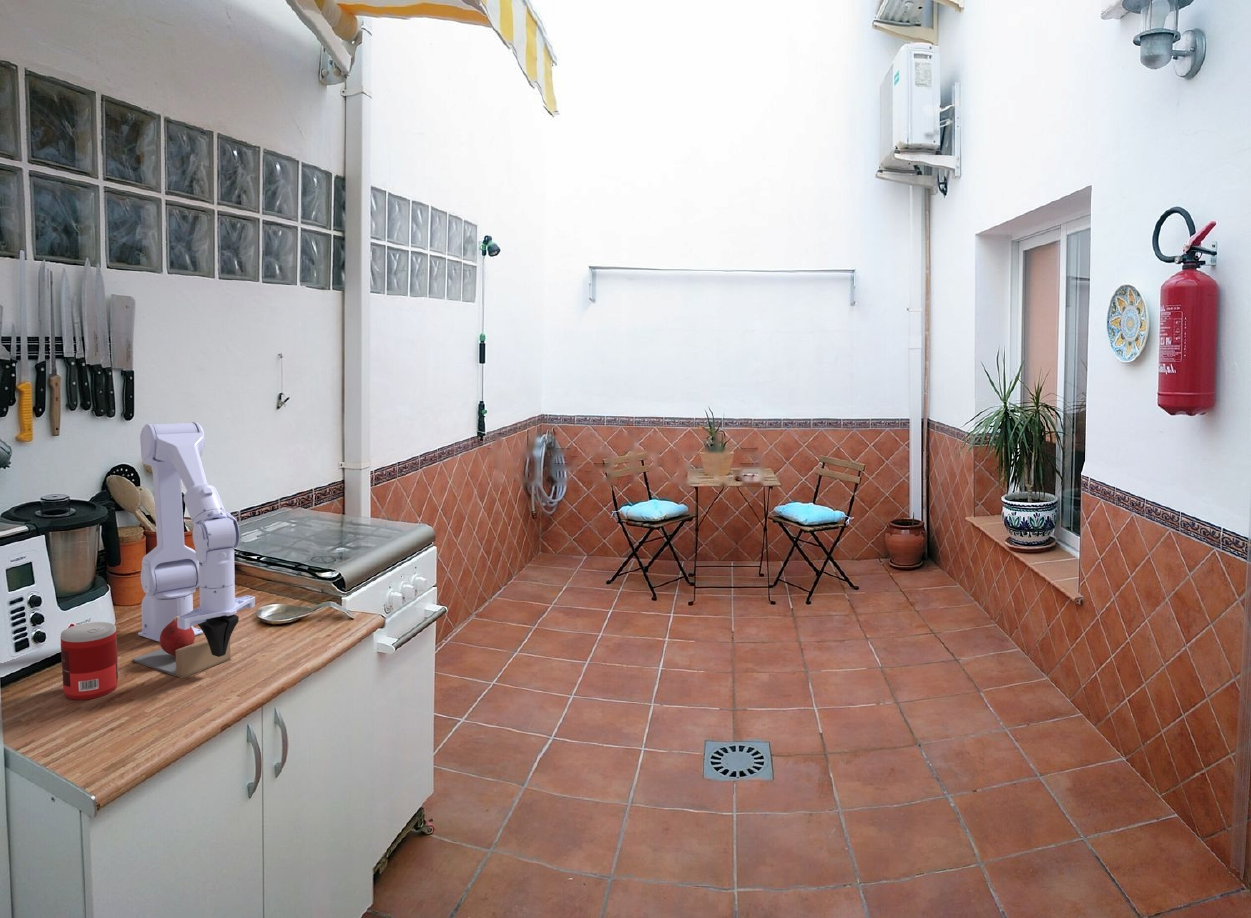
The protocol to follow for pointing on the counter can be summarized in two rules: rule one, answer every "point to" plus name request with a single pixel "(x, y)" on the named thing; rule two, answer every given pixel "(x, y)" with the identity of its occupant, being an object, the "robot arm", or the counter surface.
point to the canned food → (89, 660)
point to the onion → (175, 637)
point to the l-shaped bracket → (184, 659)
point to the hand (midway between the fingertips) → (218, 654)
